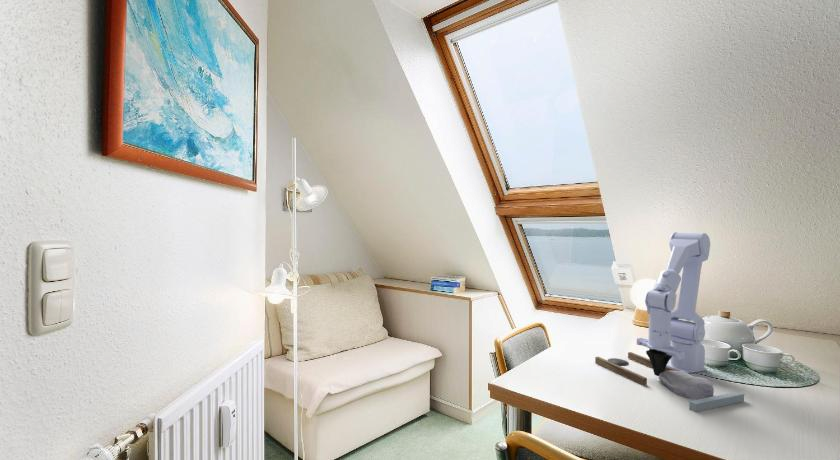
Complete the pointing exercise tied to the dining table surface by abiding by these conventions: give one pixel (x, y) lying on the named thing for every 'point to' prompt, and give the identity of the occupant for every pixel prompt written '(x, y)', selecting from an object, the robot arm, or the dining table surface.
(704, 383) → the stone block
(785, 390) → the dining table surface
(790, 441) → the dining table surface
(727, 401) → the stop bar
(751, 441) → the dining table surface
